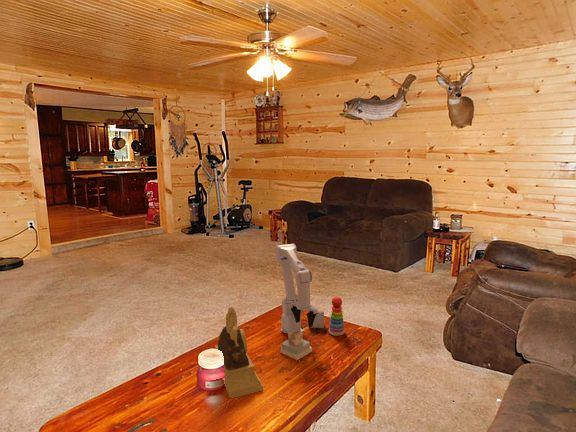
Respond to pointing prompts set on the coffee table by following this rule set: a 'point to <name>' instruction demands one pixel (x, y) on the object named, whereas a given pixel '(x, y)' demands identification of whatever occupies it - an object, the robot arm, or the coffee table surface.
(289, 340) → the ash cube
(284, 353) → the bottom slab
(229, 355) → the seated figure statue
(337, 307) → the stacking toy
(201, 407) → the coffee table surface
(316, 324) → the medicine box
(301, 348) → the top slab
